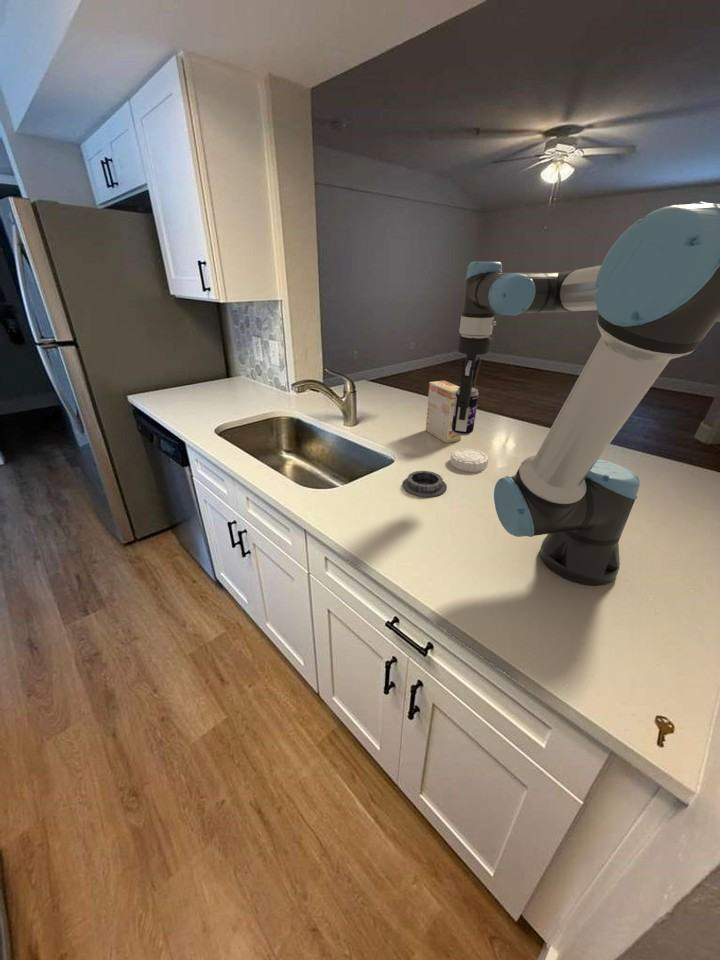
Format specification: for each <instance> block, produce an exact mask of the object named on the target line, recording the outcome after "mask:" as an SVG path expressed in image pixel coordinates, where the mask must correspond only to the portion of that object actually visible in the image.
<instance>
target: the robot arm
mask: <svg viewBox="0 0 720 960" xmlns="http://www.w3.org/2000/svg"><path fill="white" fill-rule="evenodd" d="M582 311H584V312H585V311H586V312H587V311H597V312H598V313H599V314H598V316H597V318H596V326H597V328H598V330H599V333H600V335H601V336H600V338H599V339H598V342H597V343H596V346H595V347H594V349H593V351H592V353H591V354H590V356H589V358H588V360H587V362H586V363H585V365H584V367H583V369H582V371H581V373H580V375H579V376H578V378H577V380H576V381H575V383H574V385H573V387H572V388H571V391H570V393H569V394H568V396H567V398H566V400H565V401H564V403H563V405H562V407H561V409H560V411H559V412H558V415H557V416H556V418H555V420H554V421H553V424H552V426H551V427H550V429H549V430H548V433H547V434H546V436H545V438H544V440H543V442H542V443H541V444H540V447H539V449H538V451H537V452H536V454H535V455H531V456H528V457H526V458H525V459H524V460H523V461H522V462H521V463H520V465H519V467H518V468H517V471H516V473H515V475H513V476H509V475H506V476H504V477H500V478H499V479H498V480H497V481H496V483H495V485H494V489H493V500H494V501H493V503H494V508H495V511H496V515H497V518H498V520H499V521H500V524H501V526H502V527H503V529H504V530H505V531H506V532H507V533H508V534H510V535H511V536H514V537H516V538H519V537H520V538H522V537H529V538H531V537H535V536H536V537H537V536H543V535H546V536H545V538H543V540H542V542H541V545H540V549H539V556H540V559H541V561H542V562H543V563H544V565H545V566H546V567H547V569H548V570H551V571H552V572H553V573H555V574H557V576H560V577H561V578H563V579H566V580H568V581H571V582H574V583H577V584H581V585H586V586H588V585H589V586H602V585H607V584H610V583H611V582H613V581H614V580H615V579H616V578H617V575H618V573H619V570H620V565H621V562H620V561H621V560H620V559H621V558H620V544H619V542H620V539H621V536H622V534H623V531H624V529H625V526H626V524H627V521H628V519H629V517H630V514H631V512H632V509H633V507H634V503H635V501H636V500H638V492H639V489H640V485H641V484H640V483H641V482H640V479H639V477H638V476H637V475H636V474H635V473H634V472H633V471H631V470H630V469H628V468H626V467H624V466H622V465H620V464H618V463H614V462H612V461H608V460H605V459H600V458H601V456H602V455H603V454H604V452H605V451H606V449H607V448H608V447H609V445H610V443H612V441H613V440H614V439H615V437H616V436H617V434H618V433H619V431H620V430H621V429H622V427H623V426H624V425H625V423H626V421H628V420H629V418H630V416H631V415H632V414H633V412H634V411H635V409H636V408H637V407H638V405H639V404H640V403H641V401H642V399H644V397H645V396H646V394H647V393H648V392H649V390H650V388H652V386H653V385H654V384H655V382H656V380H658V378H659V376H660V375H661V373H662V372H663V370H664V369H665V368H666V366H667V365H668V364H669V362H670V361H671V360H672V359H673V360H674V359H677V358H680V357H685V356H688V355H689V354H692V353H693V352H694V351H695V350H696V349H697V348H698V346H699V345H700V344H701V343H702V340H703V339H705V337H706V336H707V334H708V333H709V332H710V330H711V329H712V327H714V325H715V324H716V323H720V203H710V202H706V201H699V202H693V203H689V204H678V205H677V204H674V205H670V206H669V205H668V206H664V207H661V208H657V209H656V210H653V211H651V212H650V213H647V214H646V215H645V216H644V217H642V218H640V219H638V220H636V221H635V222H633V224H631V225H630V226H629V227H628V228H627V229H626V230H625V231H624V232H623V233H621V234H620V236H619V237H618V238H617V239H616V240H615V242H614V243H613V244H612V246H611V247H610V249H609V250H608V251H607V253H606V255H605V257H604V259H603V260H602V262H601V265H595V266H591V267H589V266H588V267H585V268H580V269H579V268H578V269H575V270H568V271H564V272H563V271H561V272H503V264H502V262H501V261H471V262H470V263H469V264H468V266H467V270H466V277H465V279H464V293H463V301H462V311H461V314H460V315H461V316H460V322H459V323H460V325H459V331H458V332H459V334H460V336H459V337H458V342H457V351H458V353H460V354H465V355H466V357H465V358H463V359H464V360H462V364H461V375H460V376H461V377H460V378H461V379H460V386H459V387H460V393H459V400H458V404H456V407H458V413H457V421H456V429H455V430H457V431H464V432H466V429H467V422H468V415H469V408H470V407H469V402H470V397H471V391H472V387H475V388H476V383H477V377H478V374H479V368H480V365H481V360H482V359H480V358H481V357H480V356H483V355H487V354H488V353H489V352H490V350H491V349H490V348H491V343H492V337H491V335H492V334H493V329H494V327H495V326H496V325H497V321H496V320H495V316H496V314H500V315H501V316H518V315H521V314H531V313H533V314H534V313H536V314H537V313H574V312H582ZM479 355H480V356H479Z"/></svg>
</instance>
